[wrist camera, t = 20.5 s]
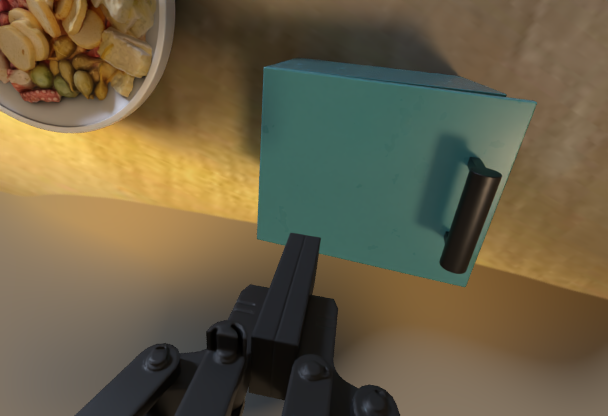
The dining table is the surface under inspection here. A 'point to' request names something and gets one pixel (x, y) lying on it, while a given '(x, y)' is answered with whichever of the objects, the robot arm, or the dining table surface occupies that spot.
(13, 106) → the bowl
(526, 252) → the dining table surface
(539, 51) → the dining table surface
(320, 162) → the chest lid
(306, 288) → the robot arm
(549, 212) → the dining table surface
